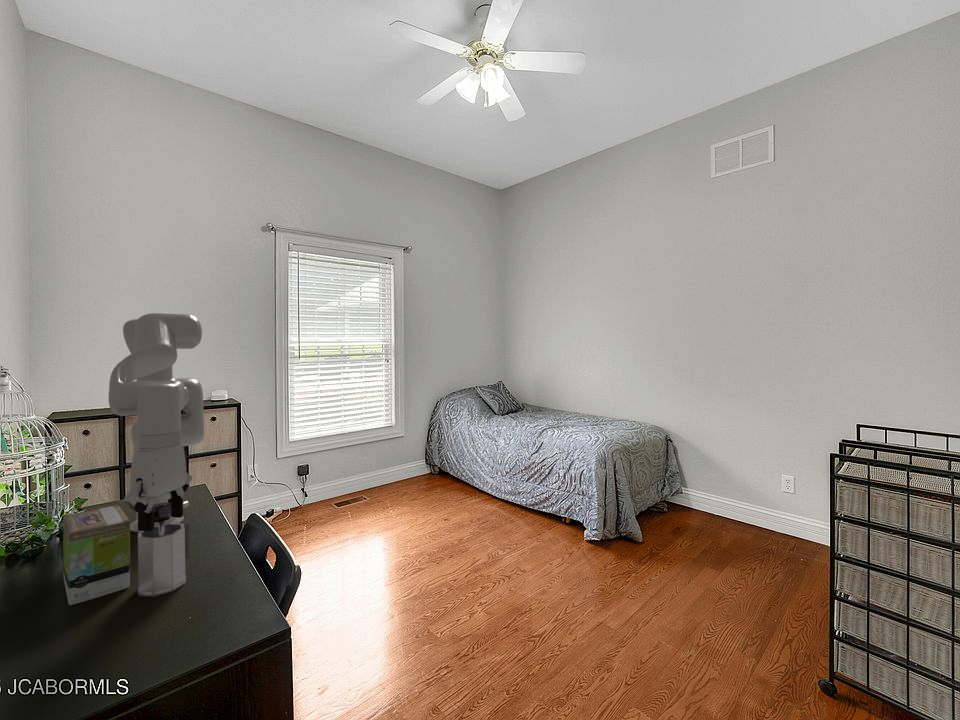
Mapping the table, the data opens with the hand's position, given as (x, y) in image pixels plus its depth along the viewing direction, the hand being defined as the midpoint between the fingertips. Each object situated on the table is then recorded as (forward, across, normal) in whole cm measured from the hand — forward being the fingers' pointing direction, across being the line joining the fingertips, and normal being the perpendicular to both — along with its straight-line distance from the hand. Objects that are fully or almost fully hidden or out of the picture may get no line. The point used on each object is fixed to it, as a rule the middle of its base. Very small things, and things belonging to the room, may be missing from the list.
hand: (161, 522), depth 93 cm
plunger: (+9, 0, 0) cm, 9 cm away
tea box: (+14, +1, -15) cm, 21 cm away
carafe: (+14, -1, 0) cm, 14 cm away
